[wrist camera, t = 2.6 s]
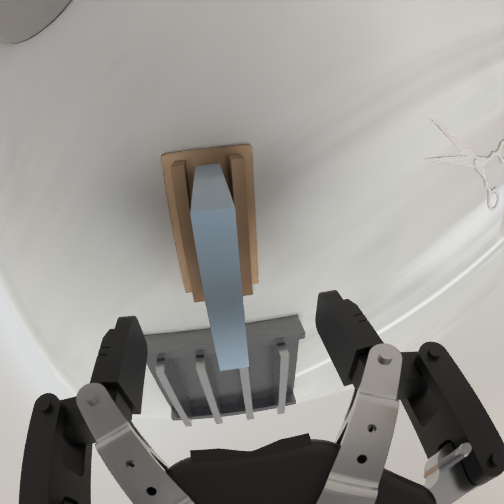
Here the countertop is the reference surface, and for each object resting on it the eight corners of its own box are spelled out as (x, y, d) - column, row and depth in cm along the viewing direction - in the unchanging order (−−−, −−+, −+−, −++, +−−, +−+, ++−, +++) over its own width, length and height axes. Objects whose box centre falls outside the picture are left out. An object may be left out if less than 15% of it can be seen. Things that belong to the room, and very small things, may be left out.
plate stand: (186, 285, 23) (185, 308, 20) (163, 153, 17) (156, 161, 15) (256, 276, 24) (263, 298, 21) (249, 144, 18) (257, 149, 16)
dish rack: (173, 405, 31) (173, 430, 28) (137, 335, 25) (132, 366, 21) (290, 389, 33) (298, 413, 30) (297, 315, 27) (310, 343, 23)
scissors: (499, 213, 26) (417, 192, 22) (496, 210, 27) (413, 189, 23) (515, 144, 21) (436, 87, 17) (511, 142, 22) (430, 86, 18)
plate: (210, 279, 22) (220, 371, 14) (195, 165, 17) (190, 212, 10) (230, 276, 22) (249, 366, 14) (219, 162, 17) (235, 207, 10)
